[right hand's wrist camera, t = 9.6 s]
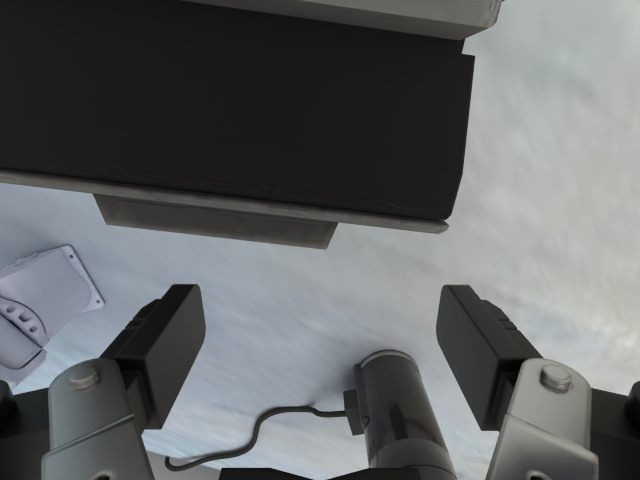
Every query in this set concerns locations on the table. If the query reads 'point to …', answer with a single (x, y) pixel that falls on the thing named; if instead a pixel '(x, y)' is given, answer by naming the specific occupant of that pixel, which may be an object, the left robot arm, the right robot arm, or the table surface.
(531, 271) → the table surface
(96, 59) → the cooler box
